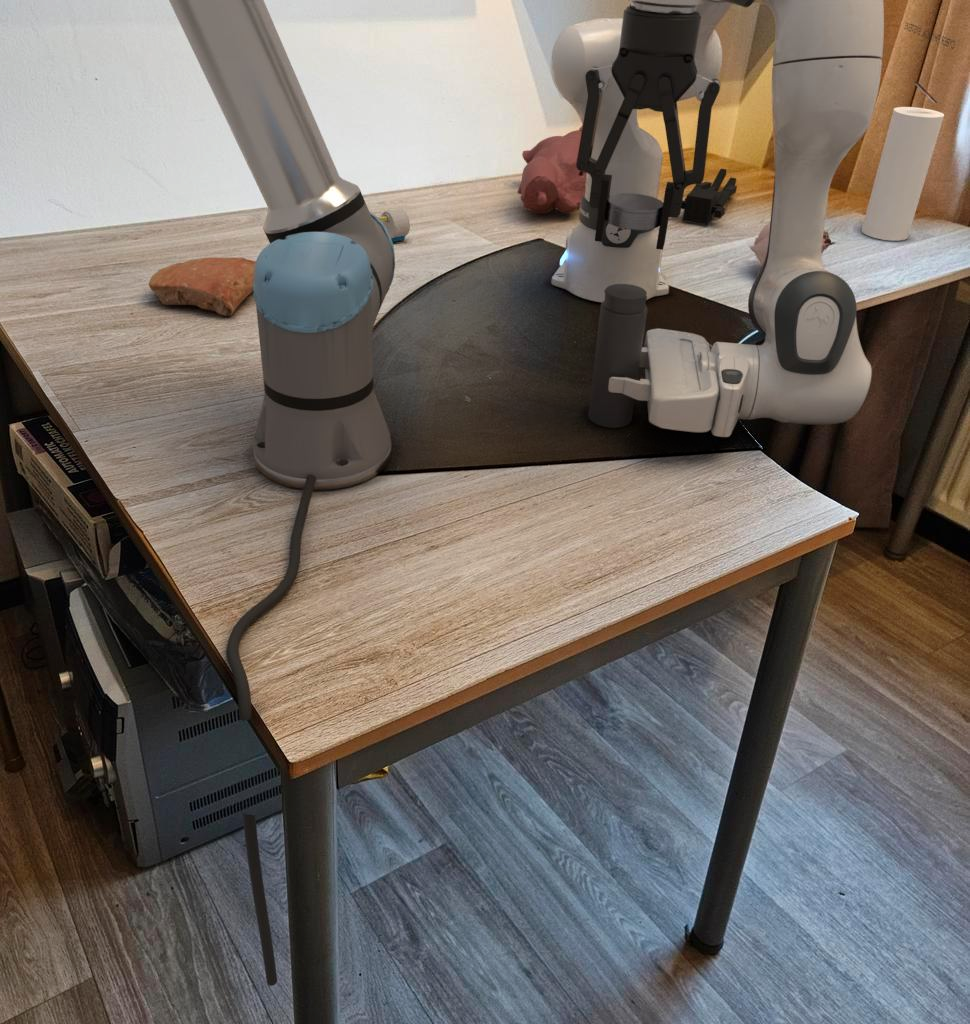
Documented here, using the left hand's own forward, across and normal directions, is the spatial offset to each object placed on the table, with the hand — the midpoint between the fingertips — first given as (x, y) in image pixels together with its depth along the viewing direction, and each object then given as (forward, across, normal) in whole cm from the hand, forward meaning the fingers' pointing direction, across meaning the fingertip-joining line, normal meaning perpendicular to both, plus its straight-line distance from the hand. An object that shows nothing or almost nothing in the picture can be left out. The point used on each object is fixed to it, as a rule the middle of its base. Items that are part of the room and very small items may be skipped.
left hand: (629, 241), depth 106 cm
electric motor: (+22, -45, +53) cm, 73 cm away
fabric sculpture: (+22, -18, +87) cm, 91 cm away
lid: (-4, 0, 0) cm, 4 cm away
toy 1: (+22, +9, +97) cm, 100 cm away
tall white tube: (+21, +42, +90) cm, 102 cm away
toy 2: (+22, +23, +61) cm, 69 cm away
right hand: (+16, 0, 0) cm, 16 cm away
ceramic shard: (+23, -63, +20) cm, 70 cm away
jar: (+22, +1, 0) cm, 22 cm away
